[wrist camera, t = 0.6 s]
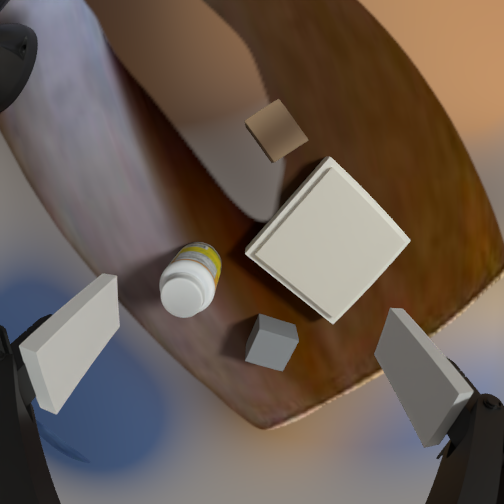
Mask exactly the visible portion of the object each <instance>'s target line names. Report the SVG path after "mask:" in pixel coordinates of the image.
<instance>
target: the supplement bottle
mask: <svg viewBox="0 0 504 504" xmlns="http://www.w3.org/2000/svg"><path fill="white" fill-rule="evenodd" d="M221 267H222V265H221V259H220V256H219V254H218V253H217V251H216V250H215V249H214V248H213V247H211V246H210V245H208V244H206V243H202V242H194V243H190V244H188V245H186V246H184V247H183V248H182V249H181V250H180V251H179V252H178V254H177V255H176V256H175V257H174V259H173V260H172V261H171V262H170V264H169V265H168V266H167V267H166V268H165V270H164V271H163V273H162V275H161V278H160V282H159V288H160V293H161V301H162V304H163V306H164V307H165V309H166V310H167V311H168V312H169V313H171V314H172V315H174V316H177V317H181V318H187V317H191V316H193V315H195V314H196V313H198V312H200V311H202V310H204V309H205V308H207V307H208V306H209V304H210V303H211V301H212V300H213V297H214V294H215V290H216V287H217V283H218V280H219V276H220V273H221Z"/></svg>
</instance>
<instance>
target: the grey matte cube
mask: <svg viewBox="0 0 504 504" xmlns="http://www.w3.org/2000/svg"><path fill="white" fill-rule="evenodd" d="M298 342H299V339H298V335H297V330H296V326H295V325H294V324H291V323H288V322H284V321H281V320H278V319H275V318H272V317H268V316H265V315H262V314H259V315H258V317H257V320H256V322H255V324H254V327H253V329H252V331H251V333H250V336H249V338H248V340H247V343H246V351H245V361H247V362H250V363H254V364H257V365H261V366H264V367H268V368H272V369H275V370H279V371H283V370H284V368H285V366H286V364H287V362H288V360H289V359H290V357H291V355H292V353H293V351H294V349H295V347H296V345H297V343H298Z"/></svg>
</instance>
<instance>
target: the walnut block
mask: <svg viewBox="0 0 504 504" xmlns="http://www.w3.org/2000/svg"><path fill="white" fill-rule="evenodd" d="M245 125H246V128H247V129H248V131H249V132H250V133H251V135H252V136H253V137H254V139H255V140H256V141H257V143H258V144H259V146H260V147H261V149H262V150H263V151H264V153H265V154H266V156H267V157H268V158H269V160H270V161H271V162H272V163H273V162H276V161H277V160H279V159H280V158H282V157H283V156H285V155H286V154H288V153H289V152H291V151H292V150H294V149H296V148H297V147H299V146H300V145H302V144H303V143H305V142H306V141H308V139H307V137H306V136H305V135H304V133H303V132H302V130H301V129H300V127H299V126H298V125H297V123H296V122H295V120H294V119H293V118H292V116H291V115H290V113H289V112H288V111H287V109H286V108H285V107H284V105H283V104H282V102H281V101H280V100H279V99H278V100H276V101H274V102H273V103H271V104H269V105H268V106H266V107H265V108H263V109H262V110H260V111H259V112H257V113H255V114H254V115H252V116H251V117H249V118H248V119H246V120H245Z"/></svg>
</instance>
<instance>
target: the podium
mask: <svg viewBox="0 0 504 504" xmlns="http://www.w3.org/2000/svg"><path fill="white" fill-rule="evenodd" d="M410 241H411V240H410V239H409V238H408V237H407V236H406V234H405V233H404V232H403V231H402V230H401V229H400V228H399V226H398V225H397V224H396V223H395V222H394V221H393V220H392V219H391V218H390V216H389V215H388V214H387V213H386V212H385V211H384V210H383V209H382V208H381V207H380V206H379V205H378V204H377V203H376V201H375V200H374V199H373V198H372V197H371V196H370V195H369V194H368V193H367V192H366V191H365V190H364V189H363V188H362V187H361V186H360V185H359V184H358V183H357V182H356V181H355V180H354V179H353V178H352V177H351V176H350V175H349V174H348V173H347V172H346V171H345V170H344V169H343V168H342V167H341V166H340V165H339V164H337V163H336V162H335V161H334V160H333V159H332V158H331V157H325V158H324V159H323V160H322V161H321V162H320V164H319V165H318V166H317V167H316V168H315V169H314V170H313V171H312V173H311V174H310V175H309V176H308V177H307V178H306V179H305V181H304V182H303V183H302V184H301V185H300V186H299V187H298V189H297V190H296V191H295V192H294V193H293V194H292V195H291V196H290V198H289V199H288V200H287V201H286V202H285V203H284V204H283V206H282V207H281V208H280V209H279V210H278V211H277V212H276V214H275V215H274V216H273V217H272V218H271V219H270V220H269V222H268V223H267V224H266V225H265V226H264V227H263V229H262V230H261V231H260V232H259V233H258V234H257V235H256V237H255V238H254V239H253V240H252V241H251V242H250V243H249V245H248V246H247V247H246V248H245V254H246V255H247V256H248V257H249V258H251V259H252V260H253V261H254V262H256V263H257V264H258V265H259V266H261V267H262V268H263V269H264V270H266V271H267V272H268V273H269V274H271V275H272V276H273V277H274V278H276V279H277V280H278V281H279V282H281V283H282V284H283V285H284V286H286V287H287V288H288V289H289V290H291V291H292V292H293V293H294V294H295V295H297V296H298V297H299V298H300V299H302V300H303V301H304V302H305V303H307V304H308V305H309V306H310V307H312V308H313V309H314V310H315V311H317V312H318V313H319V314H320V315H322V316H323V317H324V318H326V319H327V320H328V321H329V322H331V323H332V324H334V323H335V322H336V321H337V320H338V319H339V318H340V317H341V316H342V315H343V314H344V313H345V312H346V311H347V310H348V309H349V308H350V307H351V306H352V305H353V304H354V303H355V302H356V301H357V300H358V299H359V298H360V297H361V296H362V294H363V293H364V292H365V291H366V290H367V289H368V288H369V287H370V286H371V285H372V284H373V283H374V282H375V281H376V280H377V278H378V277H379V276H380V275H381V274H382V273H383V272H384V271H385V270H386V269H387V267H388V266H389V265H390V264H391V263H392V262H393V261H394V260H395V258H396V257H397V256H398V255H399V254H400V253H401V251H402V250H403V249H404V248H405V247H406V246H407V244H408V243H409V242H410Z"/></svg>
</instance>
